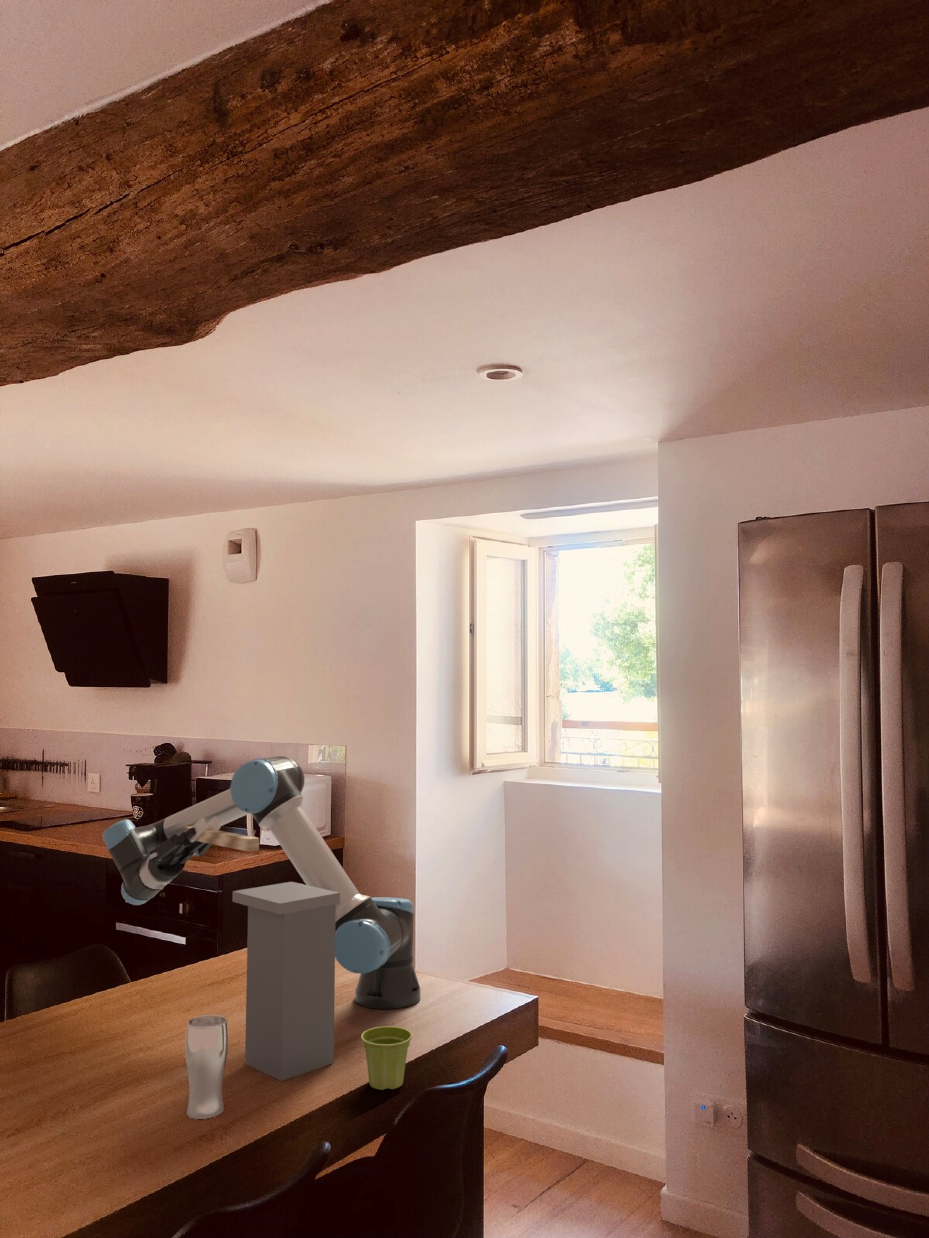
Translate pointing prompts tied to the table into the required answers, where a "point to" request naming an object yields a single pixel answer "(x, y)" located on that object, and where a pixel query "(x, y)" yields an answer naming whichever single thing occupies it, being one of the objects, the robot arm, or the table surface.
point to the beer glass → (206, 1064)
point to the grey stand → (289, 978)
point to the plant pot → (386, 1055)
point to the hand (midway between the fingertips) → (210, 823)
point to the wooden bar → (228, 839)
